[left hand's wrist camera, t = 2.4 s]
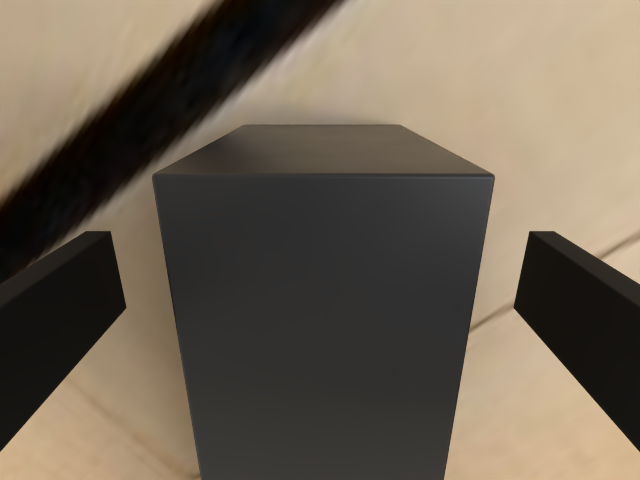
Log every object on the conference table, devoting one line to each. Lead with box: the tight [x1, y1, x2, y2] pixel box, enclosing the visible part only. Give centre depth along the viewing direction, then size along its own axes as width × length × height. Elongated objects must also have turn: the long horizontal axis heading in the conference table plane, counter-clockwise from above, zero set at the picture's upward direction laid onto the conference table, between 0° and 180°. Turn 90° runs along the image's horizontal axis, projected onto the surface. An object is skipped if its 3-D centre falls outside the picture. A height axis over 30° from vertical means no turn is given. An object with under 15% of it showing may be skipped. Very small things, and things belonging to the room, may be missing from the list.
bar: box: [152, 125, 495, 480], centre depth 14 cm, size 24×6×8 cm, turn 0°
